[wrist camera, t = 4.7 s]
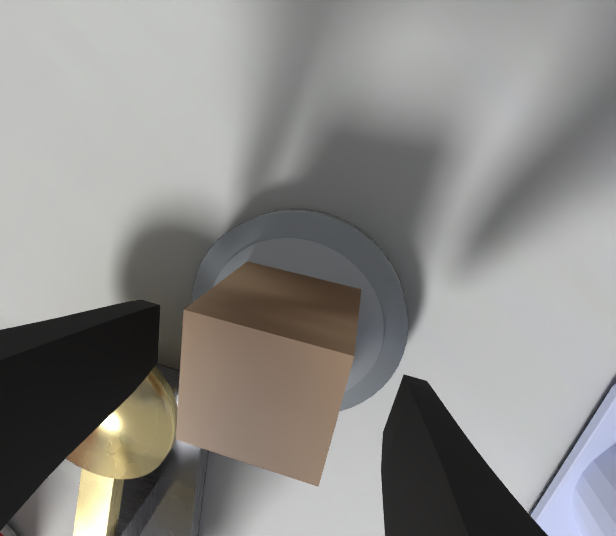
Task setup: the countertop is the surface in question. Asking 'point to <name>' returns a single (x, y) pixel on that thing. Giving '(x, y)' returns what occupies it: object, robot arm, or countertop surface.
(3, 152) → the countertop surface
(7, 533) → the soda can
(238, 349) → the block
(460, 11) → the countertop surface
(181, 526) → the balance
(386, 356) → the dish
